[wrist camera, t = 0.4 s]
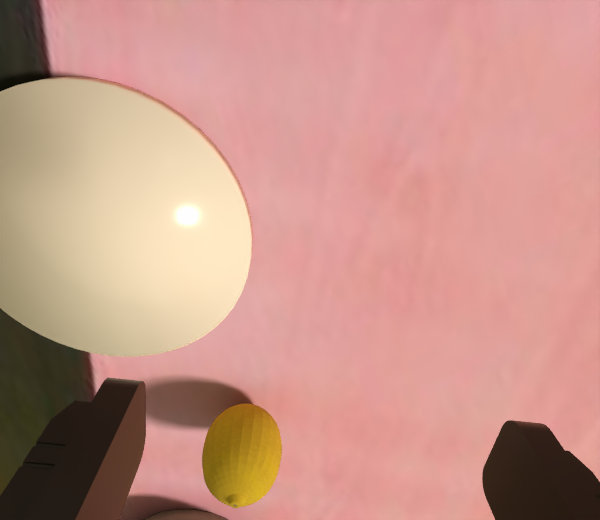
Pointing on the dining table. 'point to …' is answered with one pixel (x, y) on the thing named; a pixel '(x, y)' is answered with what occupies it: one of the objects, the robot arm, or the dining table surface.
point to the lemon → (241, 455)
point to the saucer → (115, 219)
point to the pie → (185, 515)
